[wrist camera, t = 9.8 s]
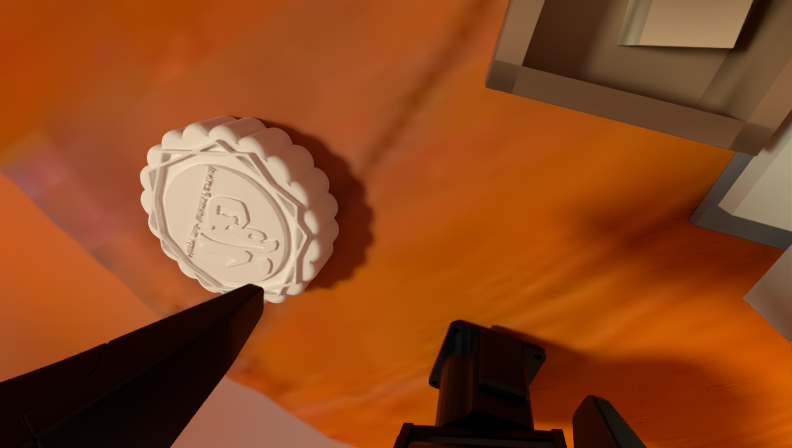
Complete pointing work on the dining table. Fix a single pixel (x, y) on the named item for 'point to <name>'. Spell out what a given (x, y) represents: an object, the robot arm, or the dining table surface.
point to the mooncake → (240, 206)
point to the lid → (769, 222)
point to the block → (683, 23)
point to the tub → (650, 71)
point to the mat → (729, 224)
